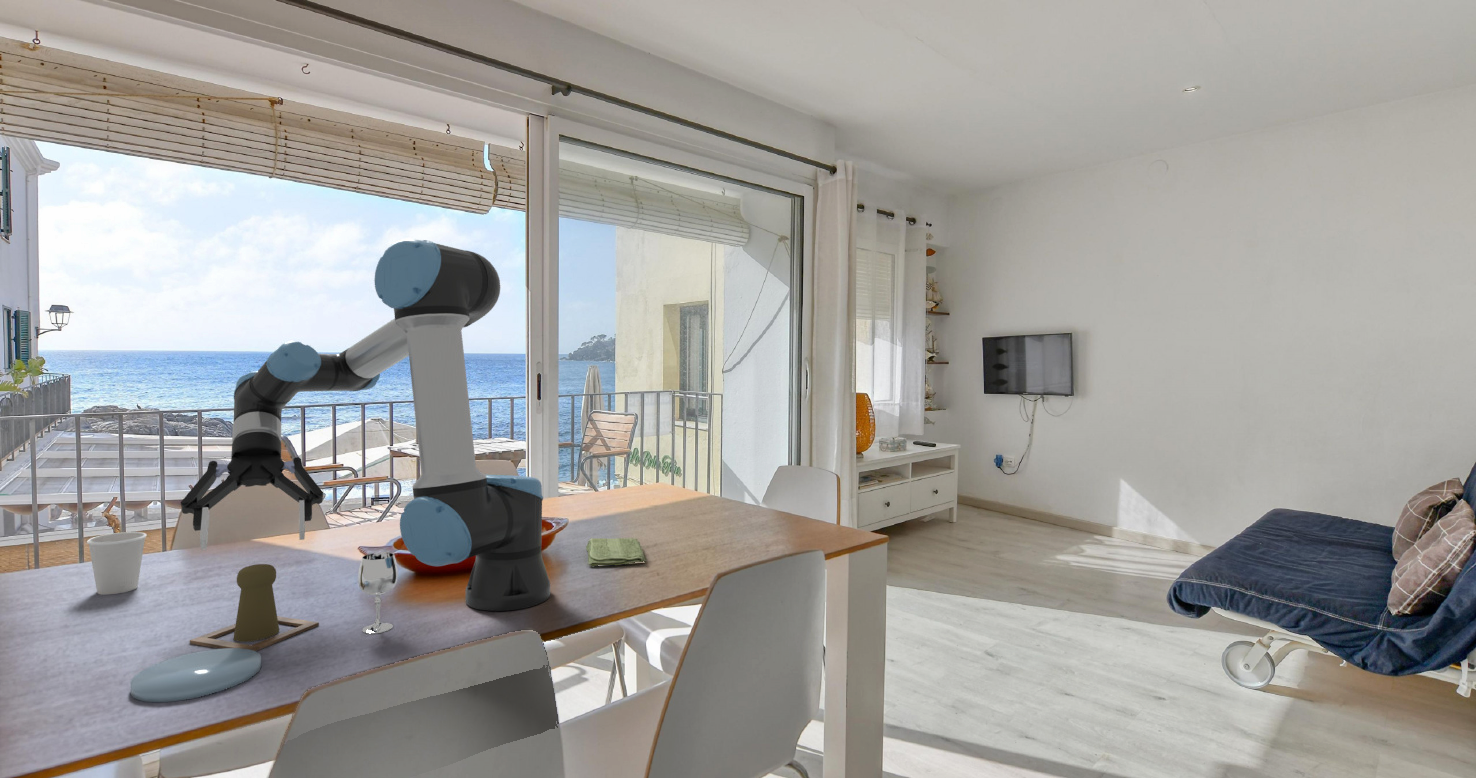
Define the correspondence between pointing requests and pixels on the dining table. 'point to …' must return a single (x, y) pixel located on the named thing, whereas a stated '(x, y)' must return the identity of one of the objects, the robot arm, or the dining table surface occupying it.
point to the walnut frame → (211, 642)
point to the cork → (256, 604)
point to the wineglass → (377, 583)
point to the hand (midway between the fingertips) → (254, 540)
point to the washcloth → (614, 551)
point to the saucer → (195, 675)
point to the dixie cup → (116, 561)
